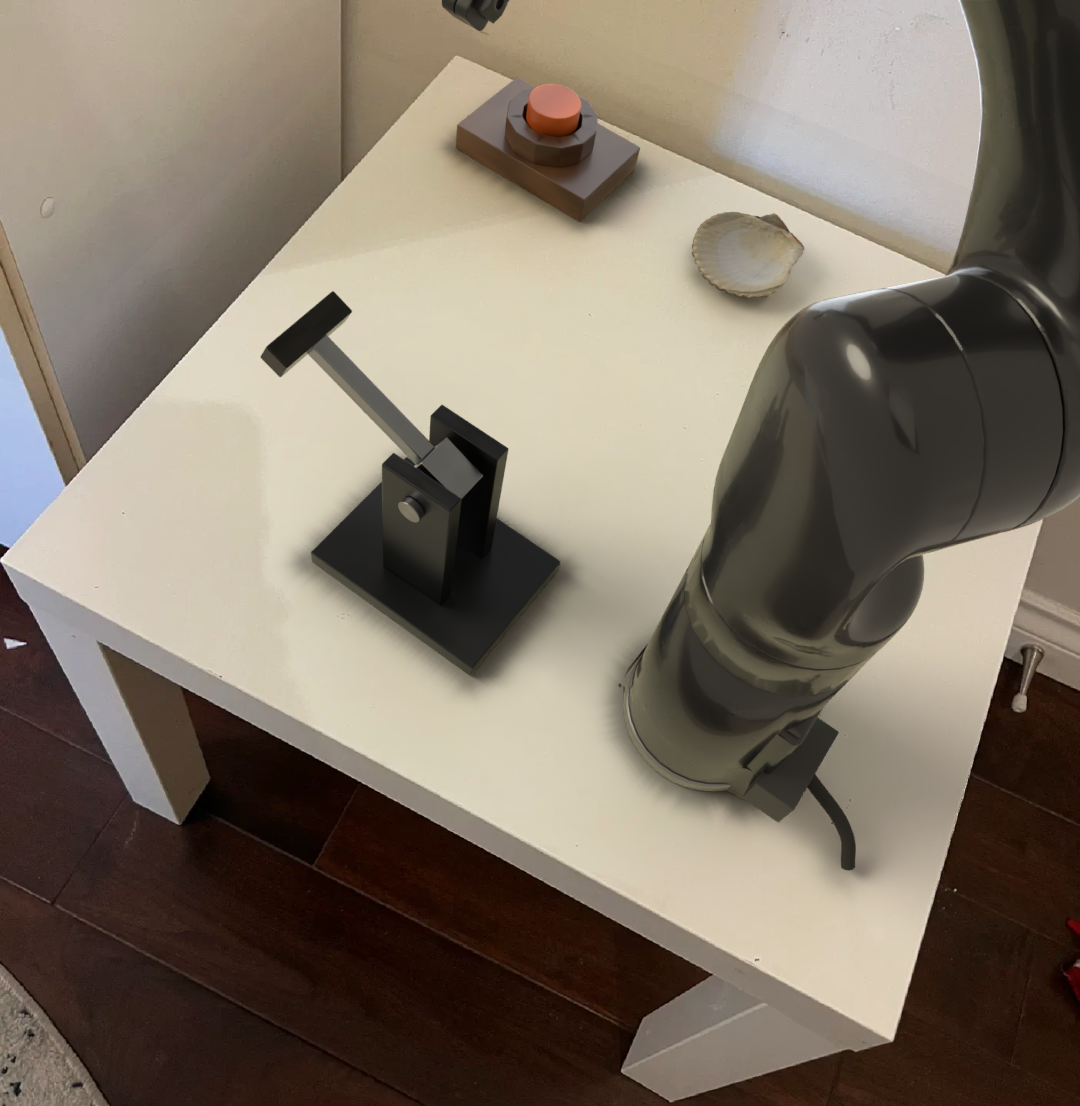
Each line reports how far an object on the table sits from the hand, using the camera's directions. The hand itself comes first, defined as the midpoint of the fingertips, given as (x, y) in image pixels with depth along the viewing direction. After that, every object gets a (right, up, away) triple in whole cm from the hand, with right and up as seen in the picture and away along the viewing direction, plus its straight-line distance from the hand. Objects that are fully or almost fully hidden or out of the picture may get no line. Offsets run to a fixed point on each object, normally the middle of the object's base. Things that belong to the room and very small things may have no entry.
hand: (461, 18), depth 48 cm
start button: (+5, +8, +31) cm, 32 cm away
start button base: (+4, +6, +34) cm, 35 cm away
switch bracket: (-3, -26, +15) cm, 30 cm away
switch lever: (-5, -18, +7) cm, 20 cm away
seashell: (+19, -3, +31) cm, 37 cm away
